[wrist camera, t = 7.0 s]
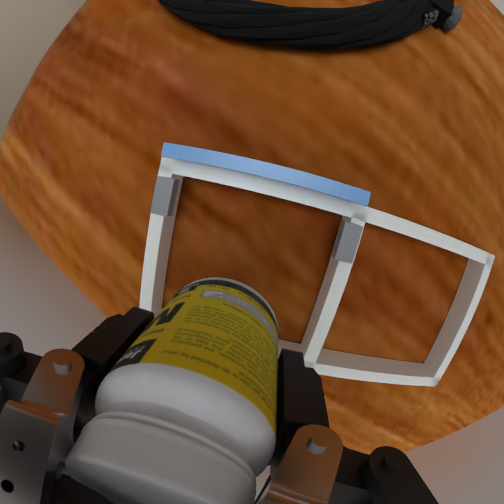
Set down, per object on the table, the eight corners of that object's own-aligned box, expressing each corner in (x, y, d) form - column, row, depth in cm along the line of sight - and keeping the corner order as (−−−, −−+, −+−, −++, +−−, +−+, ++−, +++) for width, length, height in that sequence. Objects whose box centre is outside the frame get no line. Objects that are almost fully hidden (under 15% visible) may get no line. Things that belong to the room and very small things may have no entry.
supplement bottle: (192, 253, 11) (38, 395, 3) (300, 307, 11) (328, 513, 3) (154, 343, 12) (55, 484, 4) (246, 388, 12) (216, 554, 4)
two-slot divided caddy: (481, 240, 19) (515, 253, 14) (425, 372, 22) (445, 402, 18) (177, 149, 20) (149, 140, 15) (150, 313, 23) (123, 342, 18)
